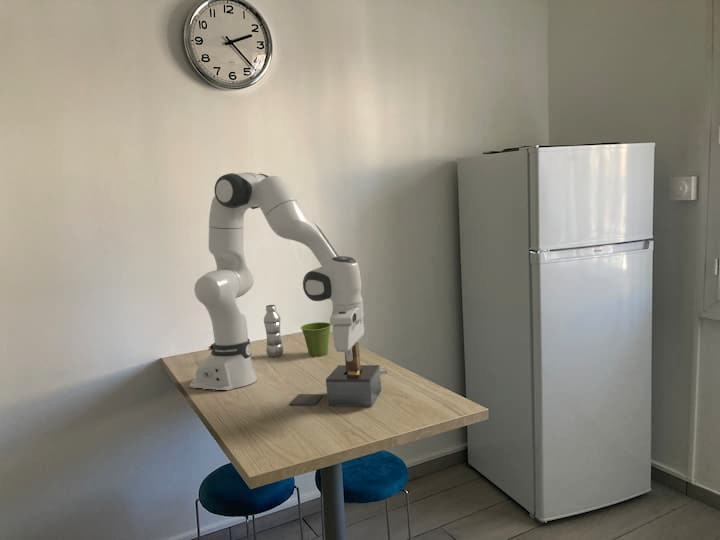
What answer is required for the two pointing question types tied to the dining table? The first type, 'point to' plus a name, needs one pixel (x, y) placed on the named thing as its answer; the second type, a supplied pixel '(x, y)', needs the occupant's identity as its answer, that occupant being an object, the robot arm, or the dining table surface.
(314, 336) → the plant pot
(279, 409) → the dining table surface
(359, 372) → the egg
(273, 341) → the silver metal bottle
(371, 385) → the box
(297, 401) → the pad
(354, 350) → the wood grain block
